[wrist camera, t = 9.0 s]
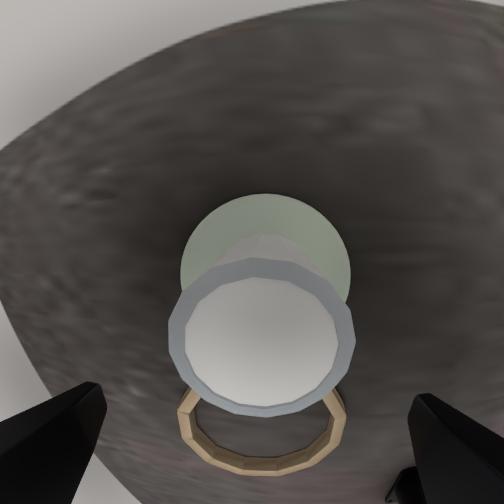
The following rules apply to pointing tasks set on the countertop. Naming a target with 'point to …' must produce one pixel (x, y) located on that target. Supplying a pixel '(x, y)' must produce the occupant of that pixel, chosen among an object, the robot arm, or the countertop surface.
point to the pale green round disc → (273, 223)
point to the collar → (259, 464)
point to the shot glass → (261, 330)
